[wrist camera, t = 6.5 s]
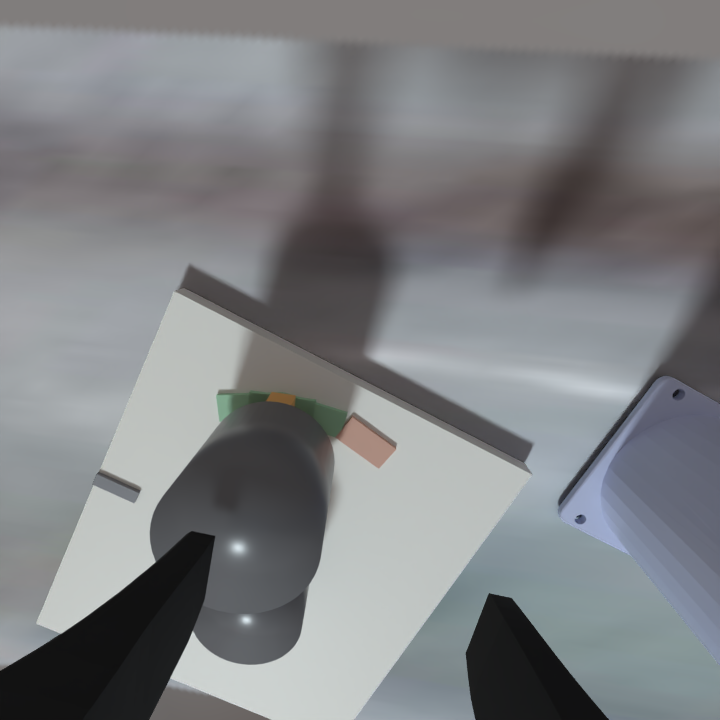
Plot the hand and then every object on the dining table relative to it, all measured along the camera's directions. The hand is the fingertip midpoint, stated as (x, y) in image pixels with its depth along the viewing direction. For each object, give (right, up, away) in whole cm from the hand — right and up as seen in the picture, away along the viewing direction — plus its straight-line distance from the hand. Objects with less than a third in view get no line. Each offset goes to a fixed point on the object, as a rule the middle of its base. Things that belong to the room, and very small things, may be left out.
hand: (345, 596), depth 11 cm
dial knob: (-4, 0, +8) cm, 9 cm away
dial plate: (-4, -3, +11) cm, 12 cm away
